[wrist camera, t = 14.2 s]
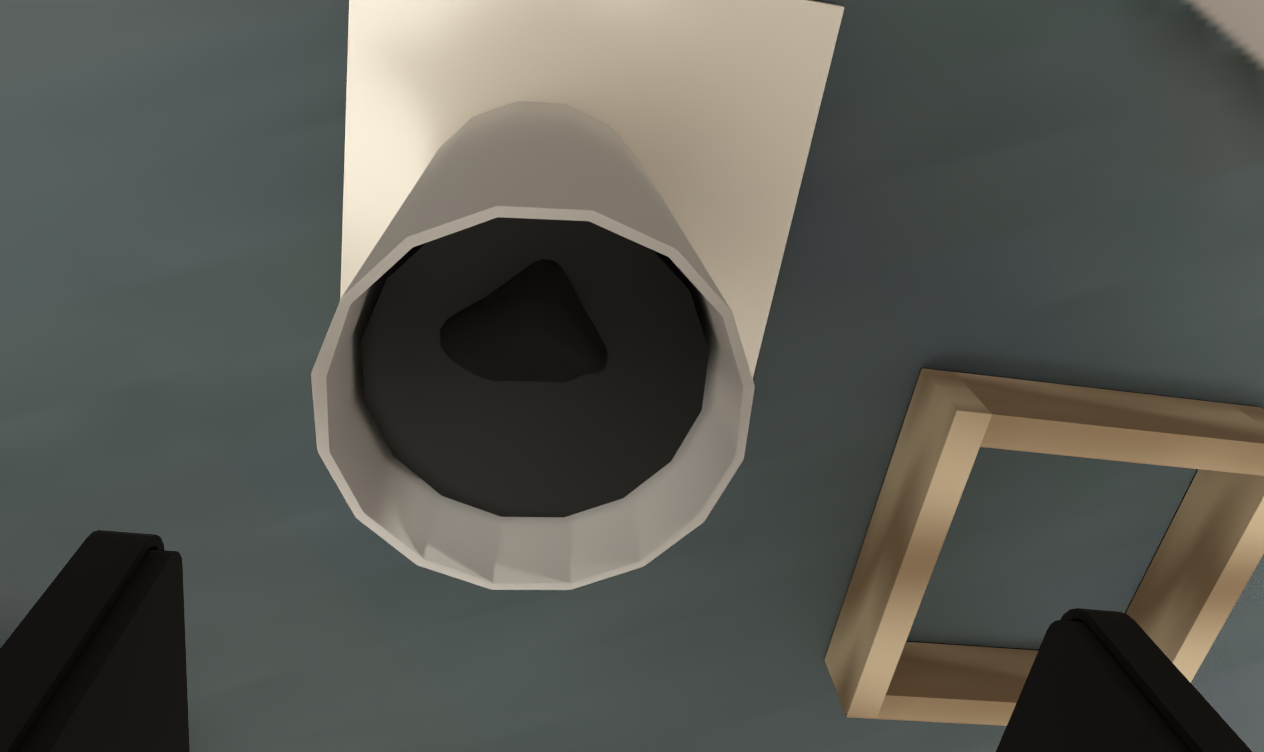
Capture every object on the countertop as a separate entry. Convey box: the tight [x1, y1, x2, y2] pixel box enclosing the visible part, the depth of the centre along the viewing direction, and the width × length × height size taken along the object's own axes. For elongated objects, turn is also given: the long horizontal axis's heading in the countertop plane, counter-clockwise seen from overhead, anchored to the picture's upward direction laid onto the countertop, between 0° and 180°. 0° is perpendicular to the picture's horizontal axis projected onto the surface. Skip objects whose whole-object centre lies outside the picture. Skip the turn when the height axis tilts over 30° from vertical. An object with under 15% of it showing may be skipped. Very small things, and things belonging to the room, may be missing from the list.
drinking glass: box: [311, 101, 755, 590], centre depth 18 cm, size 7×7×10 cm
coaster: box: [340, 0, 844, 379], centre depth 23 cm, size 11×11×1 cm
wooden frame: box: [825, 368, 1264, 726], centre depth 29 cm, size 11×11×2 cm
